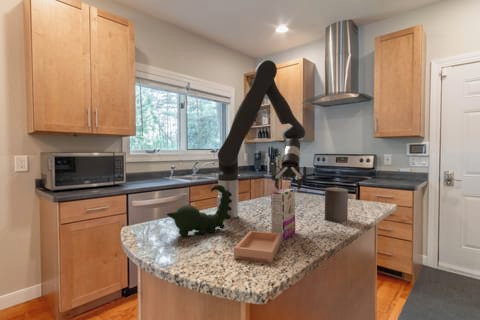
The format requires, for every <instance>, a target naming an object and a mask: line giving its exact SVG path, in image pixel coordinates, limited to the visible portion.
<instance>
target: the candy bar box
mask: <svg viewBox="0 0 480 320" xmlns="http://www.w3.org/2000/svg"><path fill="white" fill-rule="evenodd" d="M295 191H296V189H294V188H281V189H277V190H275V191H271V192H270V199H271V201H270V203H271V208H270V209H271V233H281V234H282V242H283V241H284V242H285V241H286V240H287V239H288V238H289V237H291V236H292V235H294V234H295V233H296V204H295V203H296V200H295V199H296V198H295V197H296V195H295V193H296V192H295Z"/></svg>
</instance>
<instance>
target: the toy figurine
mask: <svg viewBox="0 0 480 320" xmlns="http://www.w3.org/2000/svg"><path fill="white" fill-rule="evenodd" d="M210 191H211V192H214V191H217V192H218V193H219V192H221V193H222V197H221V199H220V202H221V203H220V204H219V209H218V210H217V209H216V212H215V213H213V214H207V213H205V212H200V210H199V209H198V208H197V207H196V206H194V205H190V204H186V205H182V206H181V207H179V208H178V209H177V210H176V211H173V212H168V213H166V216H168V217H169V218H170V219H172V220H173V221H174V224H175V226H176V228H177V229H179V230H178V234H179V235H180V236H181V237H182V238H183V237H184V238H186V237H188V236H189V233H190V232H193V231H196V232H198V233H199V234H200V235H204V234H206V231H207V232H210V233H211V234H215V233H216V229H217V228H219V229H221V230H222V229H224V228H225V225H226V224H224V221H225V220H230V219H232V218H231V216H230V215H228V210H229V211H230V210H232V208H231V207H229V203H231V202H232V200H231V199H230V198H229V197H230V196H232V193H230V192H229V191H228V190H225V188H224V187H223V186H222V185H218V184H215V185H213V186H212V187H211V189H210Z"/></svg>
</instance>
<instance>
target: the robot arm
mask: <svg viewBox="0 0 480 320" xmlns="http://www.w3.org/2000/svg"><path fill="white" fill-rule="evenodd" d="M277 72H278V69H277V65H276V63H275V62H274V61H272V60H270V59H269V60H268V59H267V60H263V61H261V62H260V63H259V64H258V66H256V68H255V71H254V79H253V81H252V84H251V86H250V88H249V90H248V91H247V93H246V94H245V95H244V96H243V99H242V100H241V103H240V105H239V106H238V109H237V111H236V112H235V115H234V118H233V121H232V123H231V127H230V130H229V132H228V134H227V137H226V138H225V140H224V142H223V144H222V145H221V147H220V149H219V150H218V152H217V159H218V174H217V176H218V177H217V179H218V184H217V185H222V186H223V187H224V188H225V190H228V191H229V192H230V193H232V196H230V197H229V198H230V199H231V200H232V202H231V203H229V207H231V208H232V210H230V211H229V210H228V215H230V216H231V218H230V219H235V218H238V217H239V153H240V150H241V147H242V145H243V142H244V140H245V139H246V137H247V135H248V134H249V132H250V131H251V129H252V127H253V125H254V123H255V121H256V119H257V116H258V115H259V112H260V109H261V107H262V104H263V103H264V98H265V97H267V98H268V100H269V101H270V104H271V106H272V108H273V110H274V112H275V114H276V117H277V118H278V120H279V123H280V124H281V125H287V124H289V125H291V126H290V127H288V128H286V129H284V130H283V132H282V138H283V142H284V143H283V144H284V147H283V152H282V159H281V165H280V166H279V167H277V166H273V168H272V172H271V180H272V181H273V182H274V187H275V188H276V189H277V190H279V186H280V181H282V180H283V179H287V178H290V179H293V178H295V180H296V181H297V190H301V189H302V187H303V185H302V184H303V182H307V180H308V177H307V176H308V175H307V174H308V173H307V167H306V166H304V167H302V168H301V167H300V161H301V153H300V152H301V143H300V140H302V139H303V138H304V137H305V136H306V130H305V128H304V126H303V125H302V124H301V123H300V122H299V120H298V119H297V117H296V116H295V115H294V114H293V111H292V109H291V107H290V105H289V102H288V101H287V100H286V98H285V97H284V95H283V94H282V93H281V92H280V90H279V89H278V86H277V84H276V82H275V78H276V76H277ZM300 173H301V174H303V176H302V175H301V174H300ZM221 197H222V193H221V192H219V191H218V195H217V196H216V211H217V210H218V209H219V204H220V203H221V202H220V199H221Z"/></svg>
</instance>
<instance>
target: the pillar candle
mask: <svg viewBox="0 0 480 320" xmlns="http://www.w3.org/2000/svg"><path fill="white" fill-rule="evenodd" d="M348 201H349V190H348V189H347V188H342V187H326V188H325V189H324V220H326V221H328V222H331V223H345V222H348V210H349V209H348V208H349V207H348V206H349V204H348V203H349V202H348Z"/></svg>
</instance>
